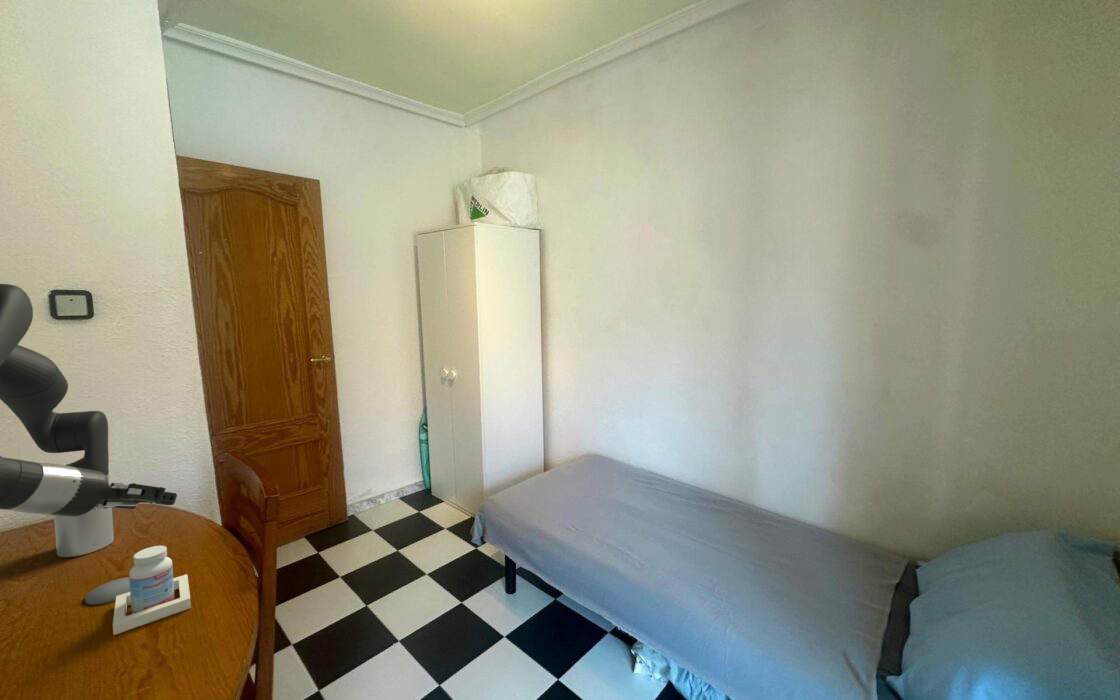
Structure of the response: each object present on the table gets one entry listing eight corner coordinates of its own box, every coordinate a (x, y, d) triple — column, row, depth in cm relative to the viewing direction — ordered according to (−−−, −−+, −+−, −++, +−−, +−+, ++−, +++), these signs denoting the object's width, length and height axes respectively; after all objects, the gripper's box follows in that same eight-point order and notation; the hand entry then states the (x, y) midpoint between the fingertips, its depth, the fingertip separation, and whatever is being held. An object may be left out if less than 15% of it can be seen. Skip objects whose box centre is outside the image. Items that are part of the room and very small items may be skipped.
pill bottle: (148, 620, 79) (144, 562, 78) (123, 615, 80) (118, 558, 79) (183, 599, 85) (179, 545, 84) (159, 594, 86) (155, 541, 85)
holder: (117, 605, 83) (116, 596, 82) (187, 583, 90) (187, 574, 90) (113, 635, 75) (112, 624, 75) (190, 607, 82) (190, 598, 82)
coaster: (87, 590, 87) (87, 588, 87) (142, 574, 92) (142, 572, 92) (83, 610, 81) (82, 607, 81) (141, 592, 87) (141, 589, 87)
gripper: (104, 461, 70) (193, 478, 84) (29, 470, 71) (129, 485, 86) (84, 510, 67) (181, 518, 81) (6, 518, 68) (114, 525, 82)
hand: (154, 501), depth 83 cm, fingers open, 8 cm apart
